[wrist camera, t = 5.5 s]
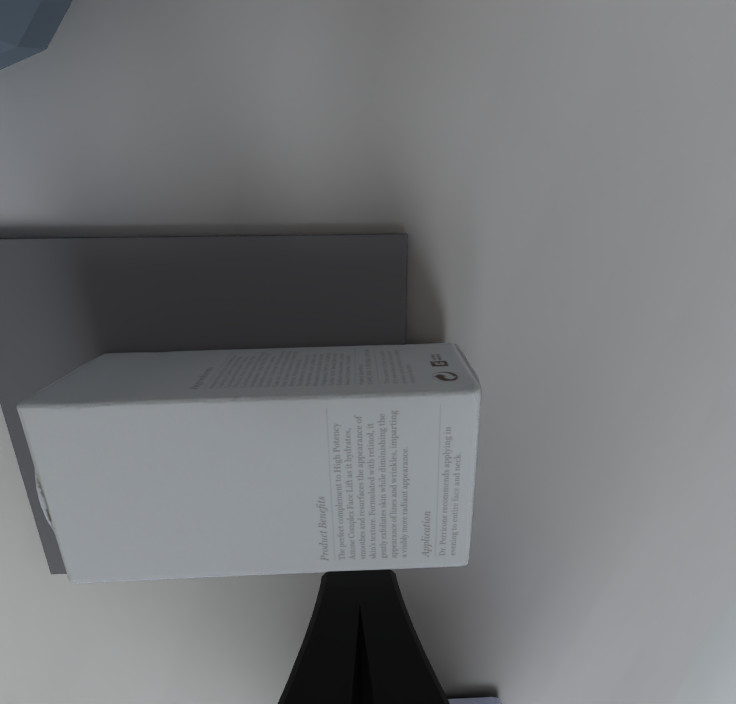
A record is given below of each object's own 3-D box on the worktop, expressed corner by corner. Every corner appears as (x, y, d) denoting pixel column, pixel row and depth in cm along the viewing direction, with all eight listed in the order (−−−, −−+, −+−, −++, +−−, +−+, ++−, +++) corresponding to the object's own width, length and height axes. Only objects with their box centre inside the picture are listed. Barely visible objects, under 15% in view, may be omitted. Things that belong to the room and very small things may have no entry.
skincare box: (457, 339, 16) (102, 340, 16) (492, 391, 11) (4, 394, 11) (448, 492, 18) (132, 494, 18) (474, 585, 13) (58, 588, 13)
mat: (400, 553, 19) (400, 561, 19) (57, 566, 19) (50, 574, 18) (406, 233, 15) (407, 234, 15) (-38, 239, 14) (-49, 239, 14)
